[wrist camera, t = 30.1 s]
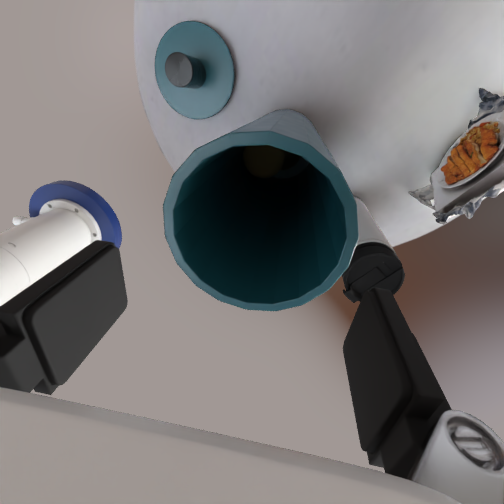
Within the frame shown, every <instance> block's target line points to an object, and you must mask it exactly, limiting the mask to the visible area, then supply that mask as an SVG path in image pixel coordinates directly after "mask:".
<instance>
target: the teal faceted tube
mask: <svg viewBox="0 0 504 504" xmlns="http://www.w3.org/2000/svg"><path fill="white" fill-rule="evenodd" d="M257 145H270V146H273V147H276V148H279V149H282V150H285V151H288V152H291V153H294V154H296V155H299V156H300V158H299V160H298V162H297V163H296V164H295V165H294V166H293V167H291V168H289V169H286V170H280V171H279V172H278V173H277V174H276V175H274V176H272V177H270V178H258V177H256V176H254V175H252V174H251V173H250V172H249V171H248V170H247V169H246V167H245V165H244V161H243V150H244V148H245V146H257ZM163 213H164V229H165V237H166V240H167V242H168V244H169V247H170V249H171V251H172V254H173V256H174V258H175V261H176V262H177V264H178V265H179V267H180V268H181V269H182V270H183V271H184V272H185V274H186V275H187V276H188V277H189V278H190V279H191V280H192V282H193V283H194V284H195V285H196V286H197V287H199V288H200V289H202V290H203V291H205V292H206V293H208V294H209V295H211V296H213V297H214V298H216V299H217V300H220V301H221V302H224V303H228V304H231V305H234V306H237V307H240V308H243V309H247V310H262V311H279V310H283V309H287V308H292V307H297V306H301V305H303V304H305V303H307V302H309V301H311V300H312V299H314V298H316V297H317V296H319V295H321V294H323V293H324V292H326V291H328V290H329V289H330V288H331V287H332V286H333V284H334V283H335V282H336V281H337V280H338V279H339V277H340V276H341V275H342V274H343V273H344V272H345V271H346V269H347V268H348V267H349V264H350V261H351V259H352V256H353V253H354V250H355V247H356V244H357V241H358V239H359V230H358V214H357V204H356V201H355V199H354V197H353V195H352V193H351V191H350V189H349V187H348V185H347V183H346V181H345V179H344V177H343V175H342V173H341V171H340V169H339V168H338V166H337V164H336V163H335V161H334V159H333V158H332V156H331V154H330V153H329V151H328V149H327V148H326V146H325V144H324V143H323V141H322V139H321V138H320V136H319V134H318V133H317V131H316V129H315V128H314V126H313V124H312V123H311V121H310V120H308V119H307V118H306V117H305V116H304V115H303V114H301V113H299V112H296V111H293V110H290V109H287V110H276V111H274V112H272V113H270V114H268V115H265V116H263V117H261V118H259V119H257V120H255V121H253V122H251V123H249V124H247V125H245V126H243V127H240V128H238V129H236V130H234V131H232V132H230V133H228V134H226V135H224V136H222V137H220V138H217V139H215V140H213V141H211V142H209V143H207V144H205V145H203V146H201V147H199V148H197V149H196V150H194V151H193V153H192V154H191V155H190V156H189V157H188V158H187V159H186V161H185V162H184V163H183V164H182V165H181V166H180V167H179V169H178V170H177V171H176V172H175V173H174V175H173V176H172V179H171V182H170V185H169V189H168V191H167V194H166V198H165V201H164V204H163Z"/></svg>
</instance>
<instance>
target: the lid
mask: <svg viewBox="0 0 504 504" xmlns="http://www.w3.org/2000/svg"><path fill="white" fill-rule="evenodd" d="M155 74H156V79H157V83H158V86H159V89H160V91H161V93H162V95H163V97H164V98H165V100H166V101H167V103H168V104H169V105H170V106H171V107H172V108H173V109H174V110H175V111H177V112H178V113H179V114H181V115H183V116H185V117H188V118H192V119H205V118H209V117H211V116H214V115H215V114H217V113H218V112H219V111H221V110H222V109H223V107H224V106H225V105H226V103H227V102H228V100H229V98H230V96H231V93H232V90H233V86H234V64H233V60H232V56H231V53H230V51H229V49H228V47H227V45H226V43H225V42H224V40H223V39H222V38H221V36H220V35H219V34H218V33H217V32H216V31H214V30H213V29H212V28H210V27H209V26H207V25H205V24H203V23H200V22H195V21H186V22H181V23H179V24H176V25H175V26H173V27H172V28H170V29H169V30H168V31H167V32H166V33H165V34H164V36H163V37H162V39H161V41H160V43H159V45H158V48H157V52H156V56H155Z"/></svg>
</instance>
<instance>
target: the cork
mask: <svg viewBox="0 0 504 504" xmlns="http://www.w3.org/2000/svg"><path fill="white" fill-rule="evenodd" d="M299 158H300V156H299V155H296V154H294V153H291V152H288V151H285V150H282V149H279V148H276V147H273V146H270V145H257V146H245V148H244V150H243V161H244V165H245V167H246V169H247V170H248V171H249V172H250V173H251V174H252V175H254V176H256V177H258V178H270V177H272V176H274V175H276V174H277V173H278V172H279V171H280V170H286V169H289V168H291V167H293V166H294V165H295V164H296V163H297V162H298V160H299Z"/></svg>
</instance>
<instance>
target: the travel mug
mask: <svg viewBox="0 0 504 504" xmlns="http://www.w3.org/2000/svg"><path fill="white" fill-rule="evenodd" d="M353 197H354V199H355V201H356V204H357V214H358V230H359V239H358V241H357V244H356V247H355V250H354V253H353V256H352V259H351V261H350V264H349V267H348V268H347V269H346V271H345V272H344V273H343V274H342V277H343V281H344V284H345V288H346V291H345V290H343V293H344V294H345V296H346V297H347V298H348V299H349V300H351V301H352V302H353V303H355V302H356V301H360V302H361V299H362V297H363V295H364V292H365V291H370V289H371V288H373V287H374V288H380V289H385V290H390V291H391V292H392V294H395V293H396V292H397V291H398V290H399V289H400V287H401V286H402V284H403V281H404V277H405V273H404V270H403V267H402V264H401V262H400V260H399V258H398V257H397V255H396V253H395V251H394V250H393V248H392V246H391V245H390V243H389V242H388V240H387V239H386V237H385V236H384V234H383V232H382V231H381V229H380V228H379V226H378V225H377V223H376V222H375V220H374V218H373V217H372V215H371V214H370V212H369V211H368V209H367V208H366V206H365V204H364V203H363V202H362V200H360V199H359V198H357V197H355V196H353Z"/></svg>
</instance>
